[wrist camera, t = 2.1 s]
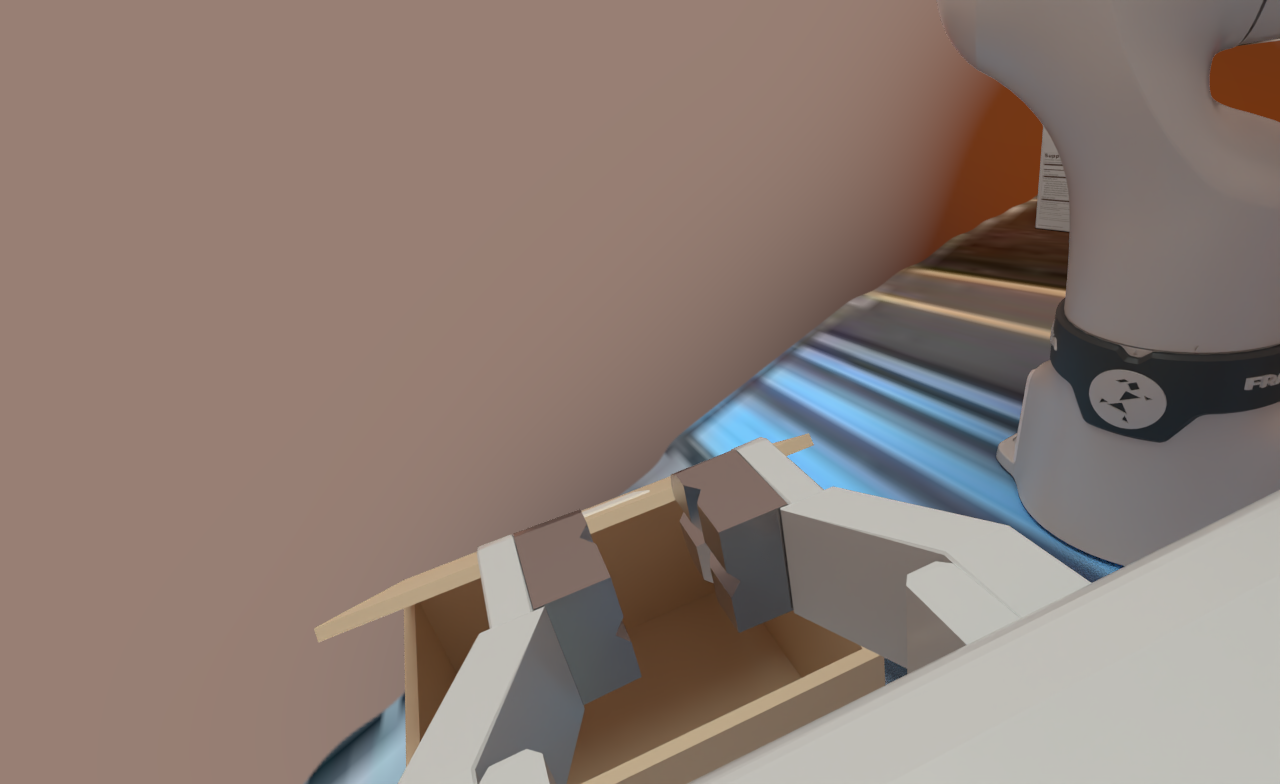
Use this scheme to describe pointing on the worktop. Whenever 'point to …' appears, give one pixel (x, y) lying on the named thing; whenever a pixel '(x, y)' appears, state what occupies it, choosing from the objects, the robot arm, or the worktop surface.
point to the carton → (661, 666)
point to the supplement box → (1052, 190)
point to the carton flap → (468, 566)
